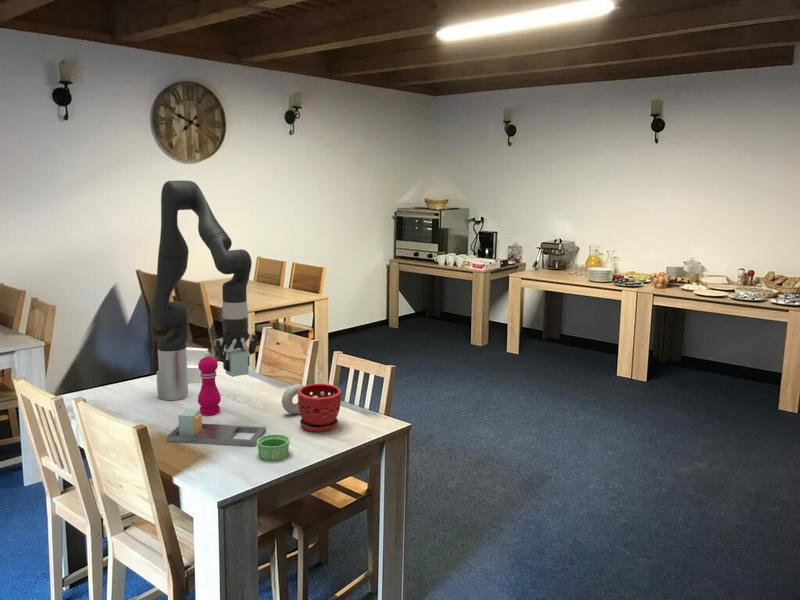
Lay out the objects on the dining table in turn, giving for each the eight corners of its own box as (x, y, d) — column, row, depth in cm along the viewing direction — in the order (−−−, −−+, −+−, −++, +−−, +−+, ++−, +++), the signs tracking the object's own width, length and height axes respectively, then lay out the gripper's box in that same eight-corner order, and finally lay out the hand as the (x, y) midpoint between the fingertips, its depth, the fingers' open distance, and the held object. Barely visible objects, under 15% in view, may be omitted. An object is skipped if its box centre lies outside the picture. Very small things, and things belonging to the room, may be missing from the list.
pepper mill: (214, 417, 208) (212, 356, 205) (194, 415, 210) (191, 354, 206) (225, 409, 215) (223, 350, 211) (205, 407, 217) (202, 349, 213)
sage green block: (179, 438, 191) (178, 415, 190) (187, 431, 196) (186, 408, 195) (195, 439, 191) (194, 416, 189) (203, 432, 196) (202, 409, 195)
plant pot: (290, 431, 198) (289, 393, 196) (311, 416, 210) (311, 381, 208) (328, 437, 193) (328, 399, 191) (348, 423, 205) (348, 386, 203)
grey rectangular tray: (166, 441, 189) (166, 436, 188) (183, 427, 199) (182, 422, 199) (254, 446, 186) (254, 441, 186) (266, 431, 197) (265, 427, 197)
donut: (284, 418, 208) (284, 388, 206) (280, 415, 211) (279, 385, 209) (312, 412, 214) (312, 383, 212) (307, 409, 217) (307, 380, 215)
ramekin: (260, 464, 175) (260, 448, 174) (254, 451, 183) (253, 436, 183) (293, 459, 179) (293, 443, 178) (285, 446, 187) (285, 432, 186)
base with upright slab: (179, 382, 242) (178, 351, 240) (191, 375, 251) (190, 345, 248) (202, 384, 240) (201, 352, 238) (213, 377, 249) (212, 346, 247)
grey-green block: (225, 372, 202) (224, 350, 200) (241, 369, 205) (240, 348, 204) (232, 376, 198) (231, 354, 197) (248, 373, 201) (248, 351, 200)
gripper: (251, 310, 205) (252, 362, 209) (207, 316, 196) (209, 370, 200) (262, 315, 200) (263, 368, 203) (217, 320, 191) (219, 376, 194)
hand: (236, 369), depth 201 cm, fingers closed on grey-green block, 5 cm apart
